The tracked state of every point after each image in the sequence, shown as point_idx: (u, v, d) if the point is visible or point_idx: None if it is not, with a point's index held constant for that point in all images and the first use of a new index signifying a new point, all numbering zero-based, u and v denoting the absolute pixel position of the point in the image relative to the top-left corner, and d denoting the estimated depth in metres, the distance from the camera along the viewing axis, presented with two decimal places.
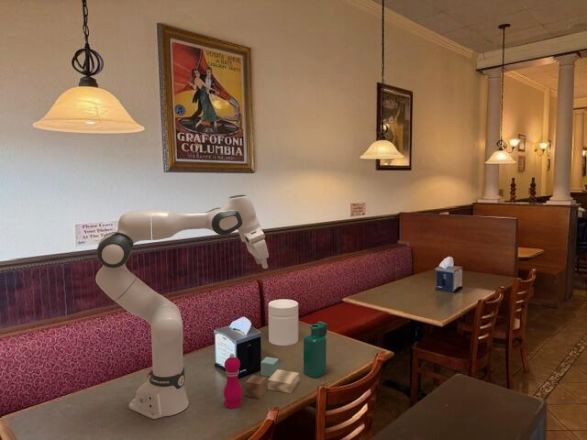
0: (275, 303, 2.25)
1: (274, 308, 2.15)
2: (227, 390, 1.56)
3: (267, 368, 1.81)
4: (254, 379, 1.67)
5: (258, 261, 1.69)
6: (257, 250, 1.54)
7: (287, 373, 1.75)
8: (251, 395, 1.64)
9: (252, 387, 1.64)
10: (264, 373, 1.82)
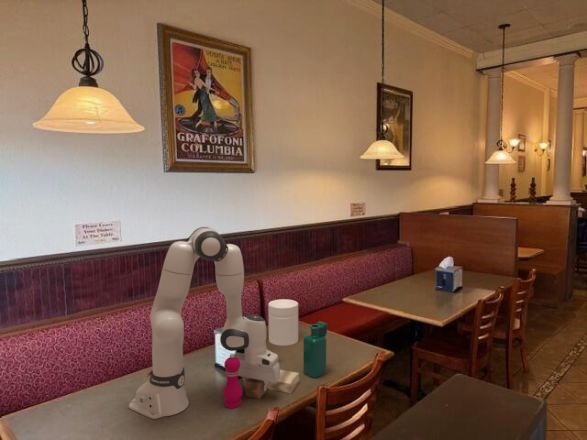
0: (275, 303, 2.25)
1: (273, 308, 2.15)
2: (227, 390, 1.56)
3: None
4: (254, 379, 1.67)
5: None
6: (276, 372, 1.61)
7: (287, 373, 1.75)
8: (251, 395, 1.64)
9: (252, 387, 1.64)
10: None
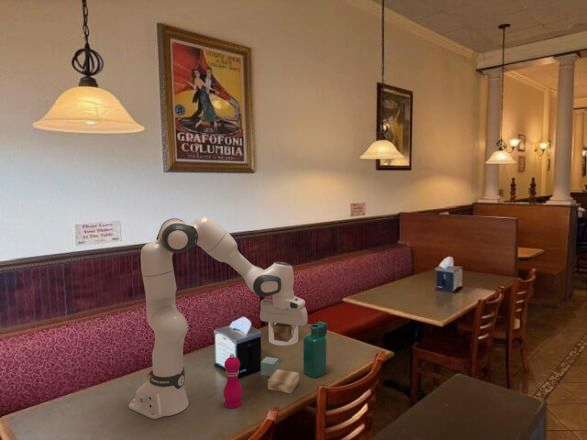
0: None
1: None
2: (227, 390, 1.56)
3: (267, 368, 1.81)
4: (282, 324, 1.71)
5: None
6: (304, 316, 1.65)
7: (287, 373, 1.75)
8: (279, 339, 1.69)
9: (280, 331, 1.68)
10: (264, 373, 1.82)
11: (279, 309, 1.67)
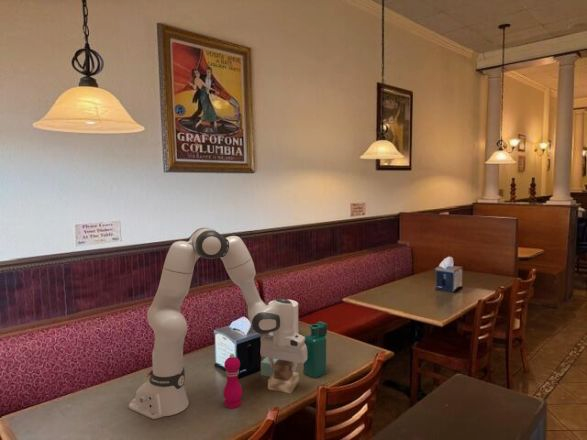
0: None
1: None
2: (227, 390, 1.56)
3: (267, 368, 1.81)
4: (282, 362, 1.73)
5: None
6: (304, 353, 1.67)
7: None
8: (279, 377, 1.70)
9: (280, 369, 1.70)
10: (264, 373, 1.82)
11: (279, 346, 1.69)
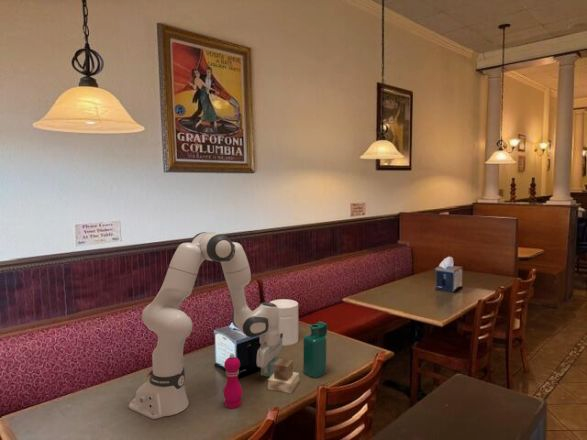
0: (275, 303, 2.25)
1: None
2: (227, 390, 1.56)
3: None
4: (282, 362, 1.73)
5: None
6: None
7: None
8: (279, 377, 1.70)
9: (280, 369, 1.70)
10: (264, 373, 1.82)
11: (275, 345, 1.82)
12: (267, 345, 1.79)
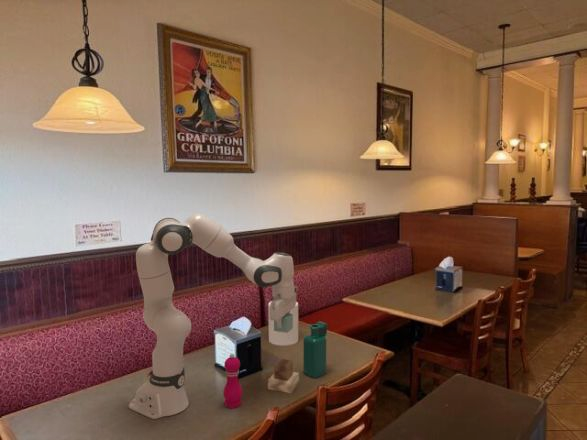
0: None
1: None
2: (227, 390, 1.56)
3: None
4: (282, 362, 1.73)
5: None
6: None
7: None
8: (279, 377, 1.70)
9: (280, 369, 1.70)
10: (277, 328, 1.69)
11: (289, 299, 1.68)
12: (281, 297, 1.65)
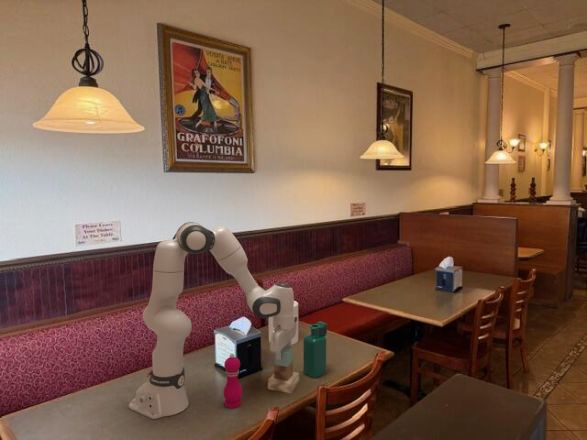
0: None
1: None
2: (227, 390, 1.56)
3: None
4: None
5: None
6: None
7: None
8: (279, 377, 1.70)
9: (280, 369, 1.70)
10: (278, 362, 1.70)
11: (290, 329, 1.70)
12: (281, 329, 1.67)
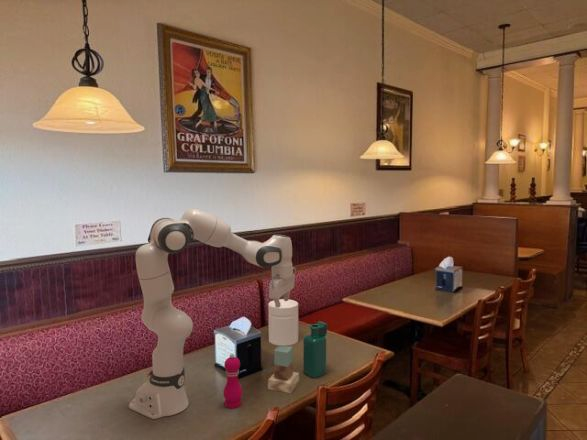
0: None
1: (273, 308, 2.15)
2: (227, 390, 1.56)
3: (281, 357, 1.69)
4: None
5: None
6: None
7: None
8: (279, 377, 1.70)
9: (280, 369, 1.70)
10: (278, 362, 1.70)
11: (288, 279, 1.74)
12: (280, 277, 1.71)
